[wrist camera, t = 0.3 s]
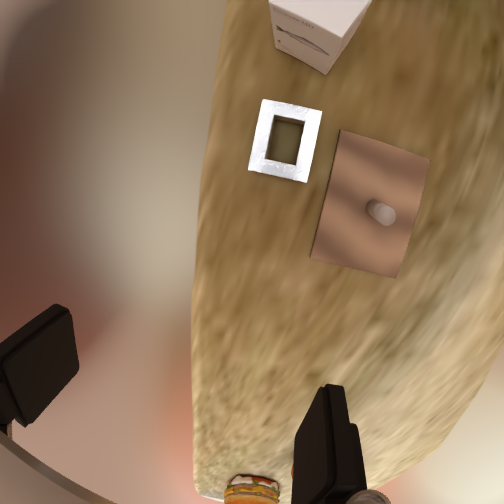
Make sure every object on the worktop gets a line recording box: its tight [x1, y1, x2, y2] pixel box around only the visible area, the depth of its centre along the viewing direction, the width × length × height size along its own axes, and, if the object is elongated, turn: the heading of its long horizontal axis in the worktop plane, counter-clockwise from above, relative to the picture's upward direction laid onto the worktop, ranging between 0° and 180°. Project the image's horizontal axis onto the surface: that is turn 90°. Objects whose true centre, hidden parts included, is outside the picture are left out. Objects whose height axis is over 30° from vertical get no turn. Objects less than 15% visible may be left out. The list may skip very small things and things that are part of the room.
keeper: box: [310, 130, 430, 278], centre depth 31 cm, size 16×12×6 cm
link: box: [248, 99, 322, 183], centre depth 31 cm, size 8×6×4 cm
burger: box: [224, 476, 280, 504], centre depth 51 cm, size 13×14×10 cm
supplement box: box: [269, 0, 372, 75], centre depth 23 cm, size 7×7×13 cm
